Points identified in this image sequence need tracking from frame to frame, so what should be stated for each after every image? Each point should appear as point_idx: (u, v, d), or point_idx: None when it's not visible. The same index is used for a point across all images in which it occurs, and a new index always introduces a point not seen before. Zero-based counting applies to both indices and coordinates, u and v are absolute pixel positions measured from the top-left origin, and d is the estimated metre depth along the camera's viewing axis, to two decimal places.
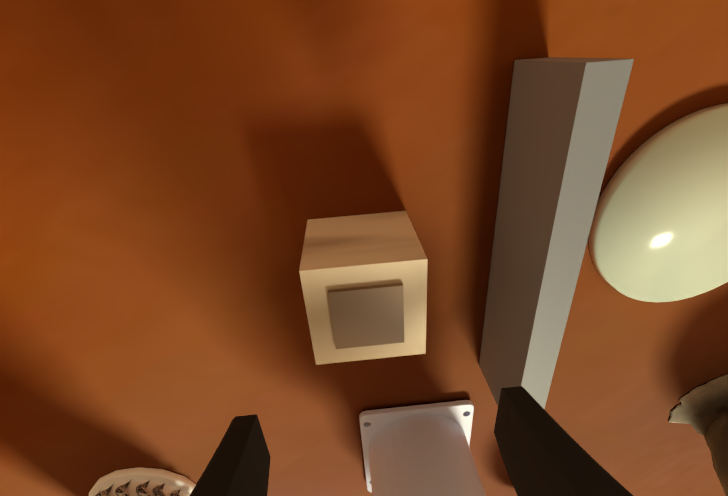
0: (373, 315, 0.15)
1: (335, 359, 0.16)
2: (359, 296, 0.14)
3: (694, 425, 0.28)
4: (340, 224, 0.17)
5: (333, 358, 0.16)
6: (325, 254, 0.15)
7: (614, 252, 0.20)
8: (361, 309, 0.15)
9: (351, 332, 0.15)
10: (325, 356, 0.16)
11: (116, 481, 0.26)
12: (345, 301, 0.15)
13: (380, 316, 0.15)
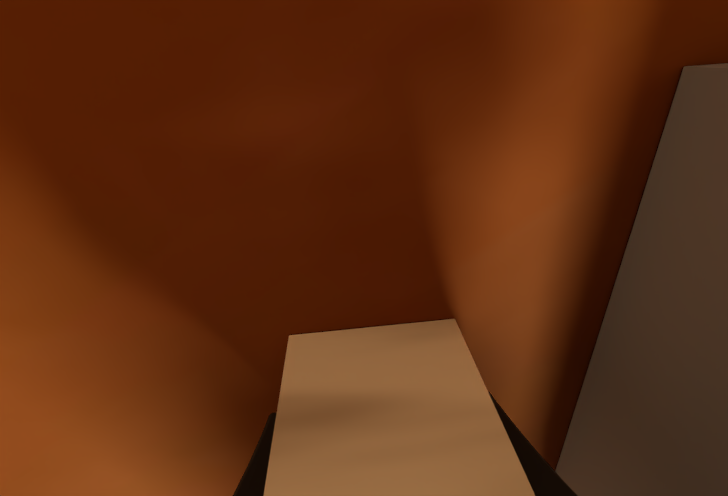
0: None
1: None
2: None
3: None
4: (344, 357, 0.10)
5: None
6: (317, 461, 0.07)
7: None
8: None
9: None
10: None
11: None
12: None
13: None
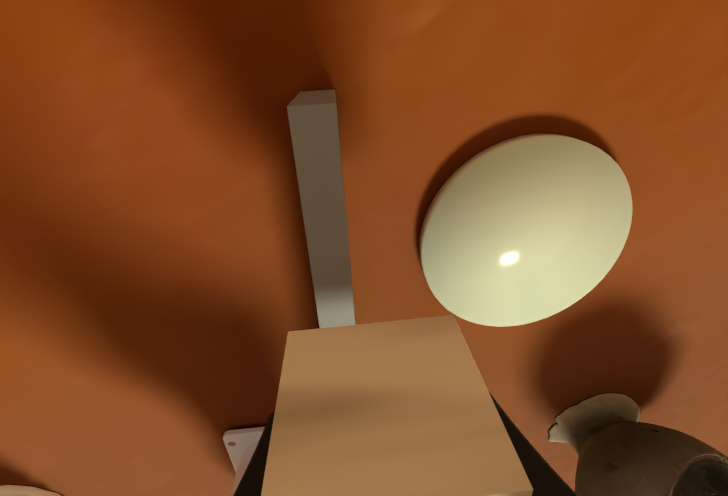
0: None
1: None
2: None
3: (571, 444, 0.28)
4: (343, 352, 0.10)
5: None
6: (316, 455, 0.07)
7: (443, 279, 0.20)
8: None
9: None
10: None
11: None
12: None
13: None
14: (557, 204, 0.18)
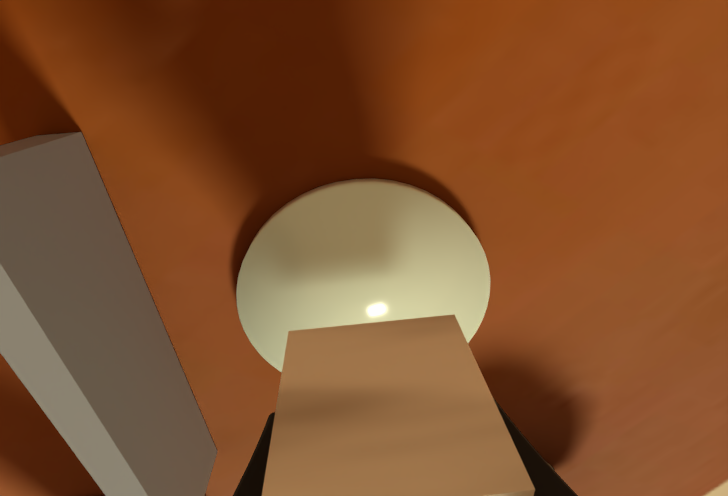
0: None
1: None
2: None
3: None
4: (344, 352, 0.10)
5: None
6: (317, 454, 0.07)
7: (274, 345, 0.17)
8: None
9: None
10: None
11: None
12: None
13: None
14: (393, 261, 0.15)
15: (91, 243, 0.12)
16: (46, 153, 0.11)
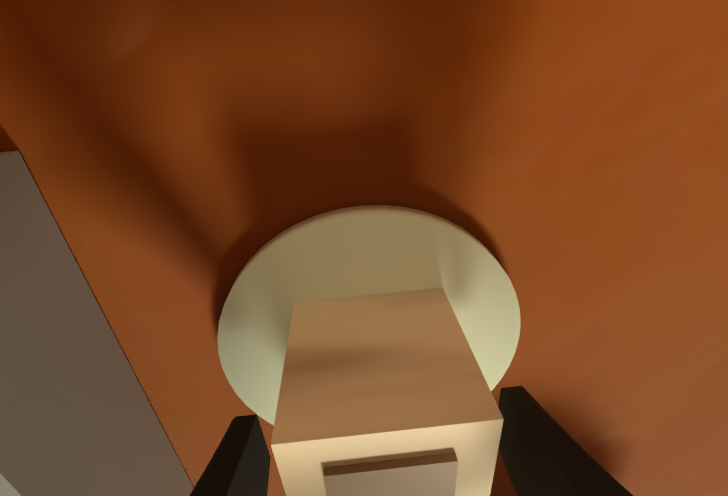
0: None
1: None
2: (379, 478, 0.08)
3: None
4: (343, 318, 0.11)
5: None
6: (320, 396, 0.09)
7: (264, 396, 0.14)
8: (382, 494, 0.08)
9: None
10: None
11: None
12: (354, 485, 0.08)
13: None
14: None
15: (31, 290, 0.10)
16: None
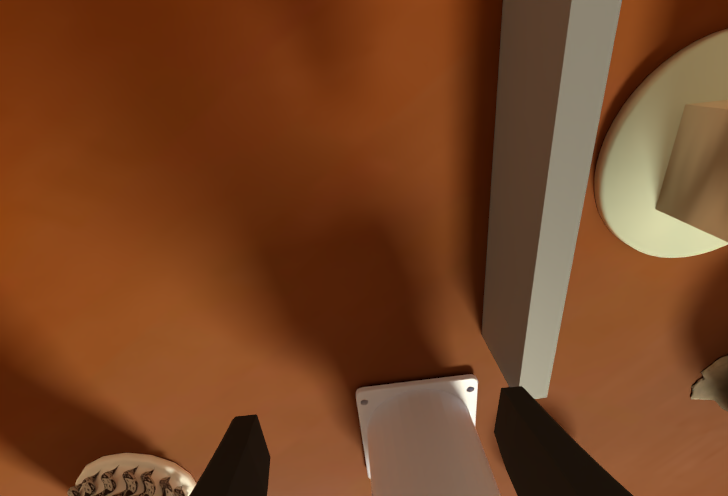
0: None
1: None
2: None
3: (719, 401, 0.26)
4: None
5: None
6: None
7: (622, 200, 0.18)
8: None
9: None
10: None
11: (103, 467, 0.25)
12: None
13: None
14: None
15: None
16: None
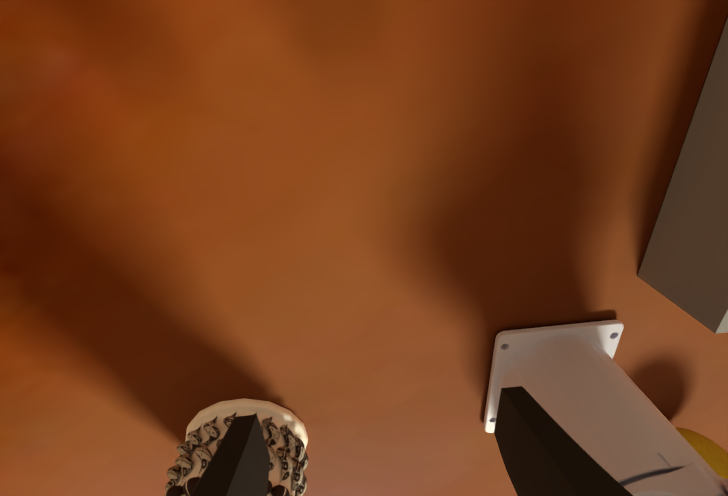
0: None
1: None
2: None
3: None
4: None
5: None
6: None
7: None
8: None
9: None
10: None
11: (220, 413, 0.24)
12: None
13: None
14: None
15: None
16: None
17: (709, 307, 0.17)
